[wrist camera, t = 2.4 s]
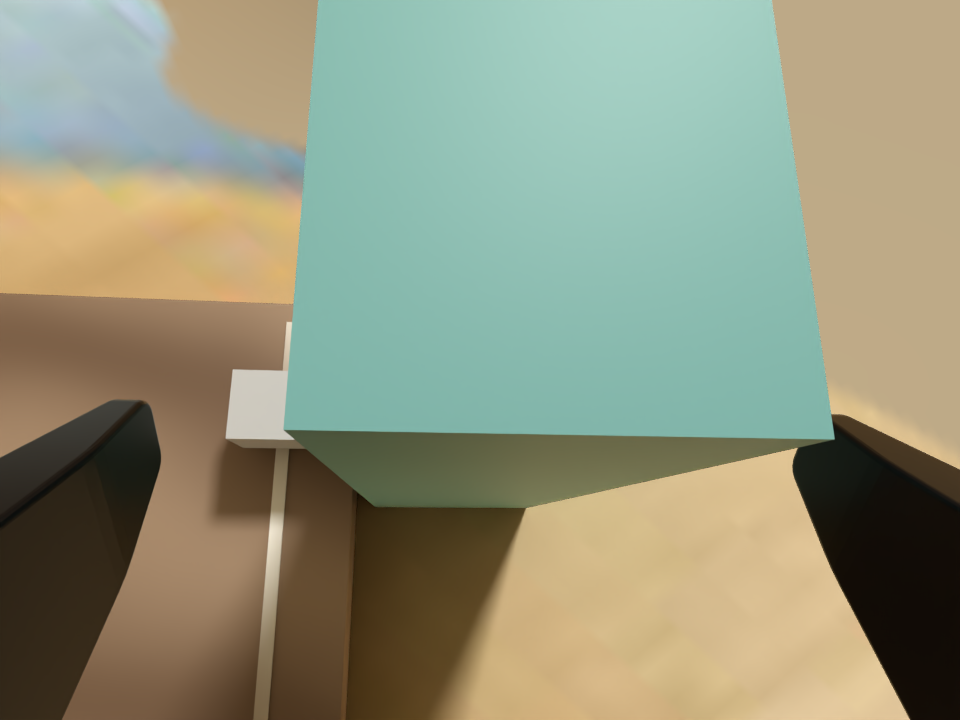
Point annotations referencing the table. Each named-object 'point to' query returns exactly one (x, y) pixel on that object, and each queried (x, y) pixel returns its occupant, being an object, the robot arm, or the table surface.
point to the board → (196, 512)
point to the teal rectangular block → (543, 253)
